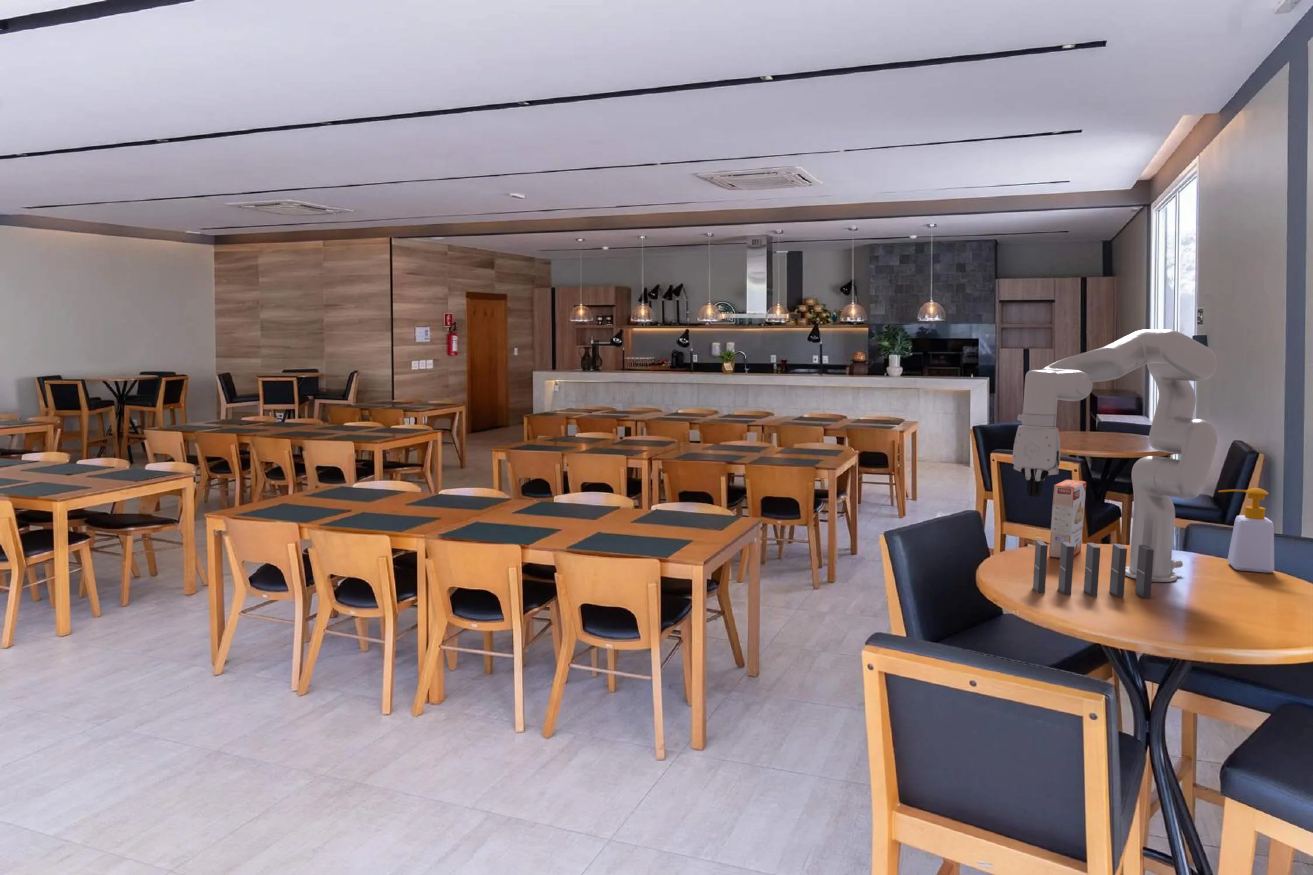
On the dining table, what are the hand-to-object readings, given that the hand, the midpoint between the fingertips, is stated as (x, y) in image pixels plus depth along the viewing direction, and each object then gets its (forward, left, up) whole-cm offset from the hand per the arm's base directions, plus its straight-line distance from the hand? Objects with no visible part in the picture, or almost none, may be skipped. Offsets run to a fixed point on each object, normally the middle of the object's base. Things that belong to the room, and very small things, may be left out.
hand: (1034, 496), depth 223 cm
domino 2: (-7, +4, -24) cm, 25 cm away
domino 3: (-13, +7, -24) cm, 28 cm away
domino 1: (-2, +1, -24) cm, 24 cm away
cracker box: (-38, -25, -24) cm, 52 cm away
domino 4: (-18, +10, -24) cm, 31 cm away
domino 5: (-23, +13, -24) cm, 35 cm away
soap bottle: (-72, +3, -24) cm, 76 cm away
